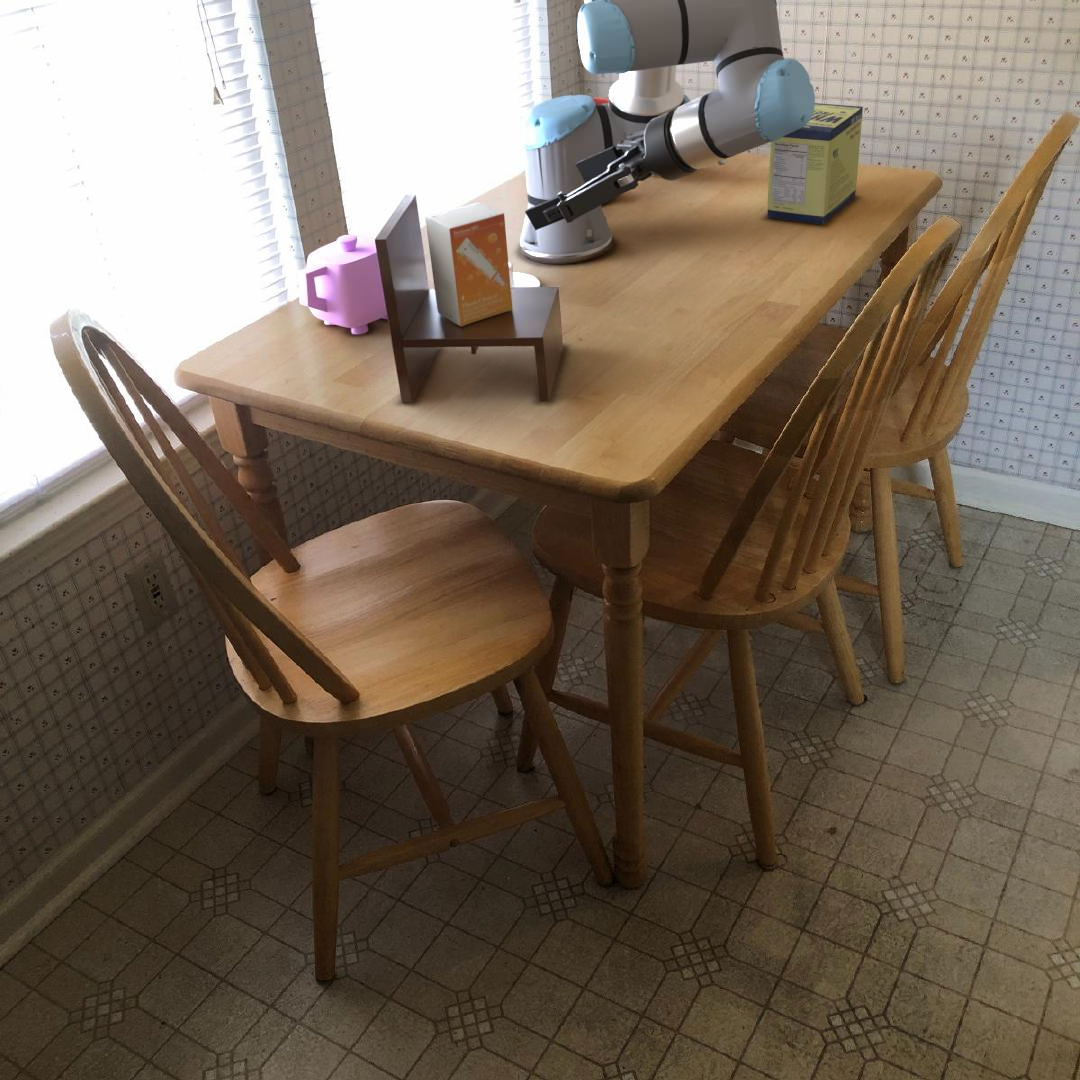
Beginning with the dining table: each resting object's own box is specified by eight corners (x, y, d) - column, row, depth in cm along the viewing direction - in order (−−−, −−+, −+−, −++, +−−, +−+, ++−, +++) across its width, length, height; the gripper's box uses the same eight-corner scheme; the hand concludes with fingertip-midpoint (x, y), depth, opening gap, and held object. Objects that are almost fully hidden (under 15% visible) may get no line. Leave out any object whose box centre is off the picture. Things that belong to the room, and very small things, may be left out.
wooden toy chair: (428, 348, 159) (405, 195, 147) (563, 347, 156) (551, 190, 144) (401, 402, 146) (374, 239, 134) (548, 402, 143) (534, 235, 131)
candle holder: (483, 274, 181) (480, 248, 178) (552, 279, 176) (550, 253, 174) (450, 303, 172) (447, 276, 169) (522, 310, 168) (519, 283, 165)
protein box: (856, 197, 197) (864, 105, 188) (824, 226, 186) (831, 130, 177) (799, 190, 202) (805, 100, 193) (765, 218, 191) (769, 125, 182)
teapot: (339, 352, 161) (322, 267, 153) (285, 332, 168) (267, 251, 160) (438, 303, 172) (427, 222, 165) (384, 287, 179) (371, 209, 172)
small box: (461, 328, 142) (448, 228, 135) (436, 313, 147) (423, 215, 139) (514, 310, 146) (505, 211, 138) (489, 296, 150) (478, 200, 143)
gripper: (656, 217, 126) (524, 267, 141) (741, 124, 141) (613, 178, 156) (625, 157, 123) (493, 214, 138) (715, 68, 138) (587, 128, 153)
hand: (556, 195), depth 147 cm, fingers open, 13 cm apart
